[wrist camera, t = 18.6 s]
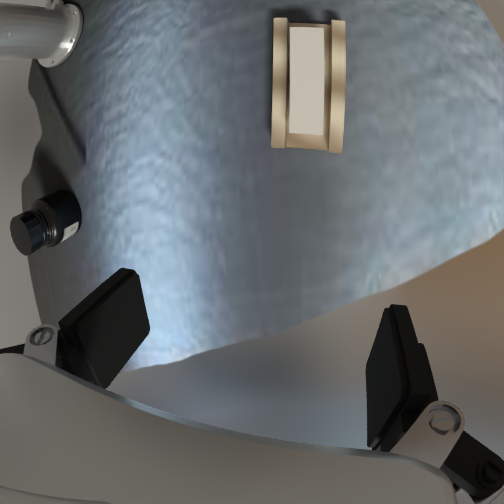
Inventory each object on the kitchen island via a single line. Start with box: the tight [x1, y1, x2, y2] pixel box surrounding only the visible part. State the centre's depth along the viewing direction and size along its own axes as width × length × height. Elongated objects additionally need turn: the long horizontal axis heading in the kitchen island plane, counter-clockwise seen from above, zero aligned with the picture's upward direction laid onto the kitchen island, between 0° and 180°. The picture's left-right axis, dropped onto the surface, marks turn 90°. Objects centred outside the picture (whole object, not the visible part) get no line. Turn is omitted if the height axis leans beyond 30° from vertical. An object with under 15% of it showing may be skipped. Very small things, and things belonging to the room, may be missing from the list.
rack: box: [271, 18, 346, 153], centre depth 29 cm, size 16×8×3 cm, turn 179°
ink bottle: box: [10, 190, 81, 255], centre depth 42 cm, size 10×9×12 cm
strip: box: [289, 27, 324, 135], centre depth 28 cm, size 12×4×4 cm, turn 0°
